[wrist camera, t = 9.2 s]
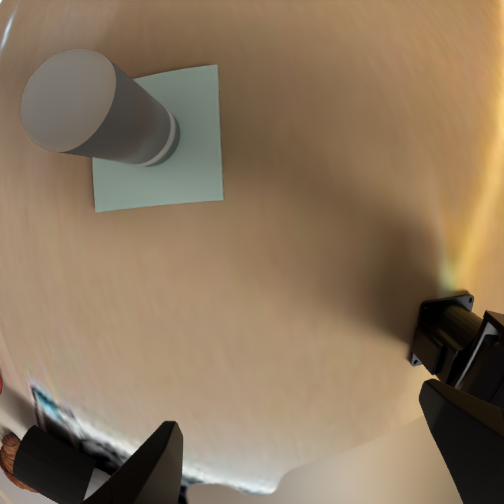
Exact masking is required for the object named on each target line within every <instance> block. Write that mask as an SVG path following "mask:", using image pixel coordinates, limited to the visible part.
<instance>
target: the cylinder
mask: <svg viewBox="0 0 504 504" xmlns="http://www.w3.org/2000/svg"><path fill="white" fill-rule="evenodd" d="M21 119H22V123H23V126H24V129H25V131H26V133H27V134H28V135H29V137H30V138H31V139H32V140H33V141H34V142H35V143H36V144H37V145H39V146H40V147H42V148H44V149H46V150H49V151H53V152H60V153H67V154H74V155H81V156H87V157H93V158H99V159H105V160H111V161H116V162H121V163H123V164H125V165H130V166H135V167H153V166H157V165H160V164H162V163H163V162H165V161H166V160H168V159H169V158H170V157H171V156H172V155H173V153H174V152H175V150H176V148H177V146H178V144H179V140H180V126H179V123H178V121H177V119H176V118H175V116H174V115H173V114H172V113H171V111H170V110H169V109H168V108H167V107H166V106H165V105H164V104H163V103H162V102H160V101H159V100H156V99H155V98H154V97H152V96H151V95H150V94H149V93H148V92H147V91H146V90H144V89H143V88H142V87H141V86H140V85H139V84H137V83H136V82H135V81H134V80H133V79H132V78H130V77H129V76H128V75H127V74H126V73H124V72H123V71H122V70H121V69H120V68H118V67H117V66H116V65H115V64H114V63H112V62H111V61H110V60H109V59H108V58H106V57H105V56H104V55H102V54H100V53H98V52H96V51H93V50H90V49H82V48H77V49H69V50H65V51H62V52H60V53H57V54H55V55H54V56H52V57H50V58H49V59H47V60H46V61H44V62H43V63H42V64H41V65H40V66H39V67H38V68H37V69H36V70H35V72H34V73H33V74H32V76H31V77H30V79H29V80H28V82H27V84H26V86H25V89H24V92H23V95H22V100H21Z"/></svg>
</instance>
